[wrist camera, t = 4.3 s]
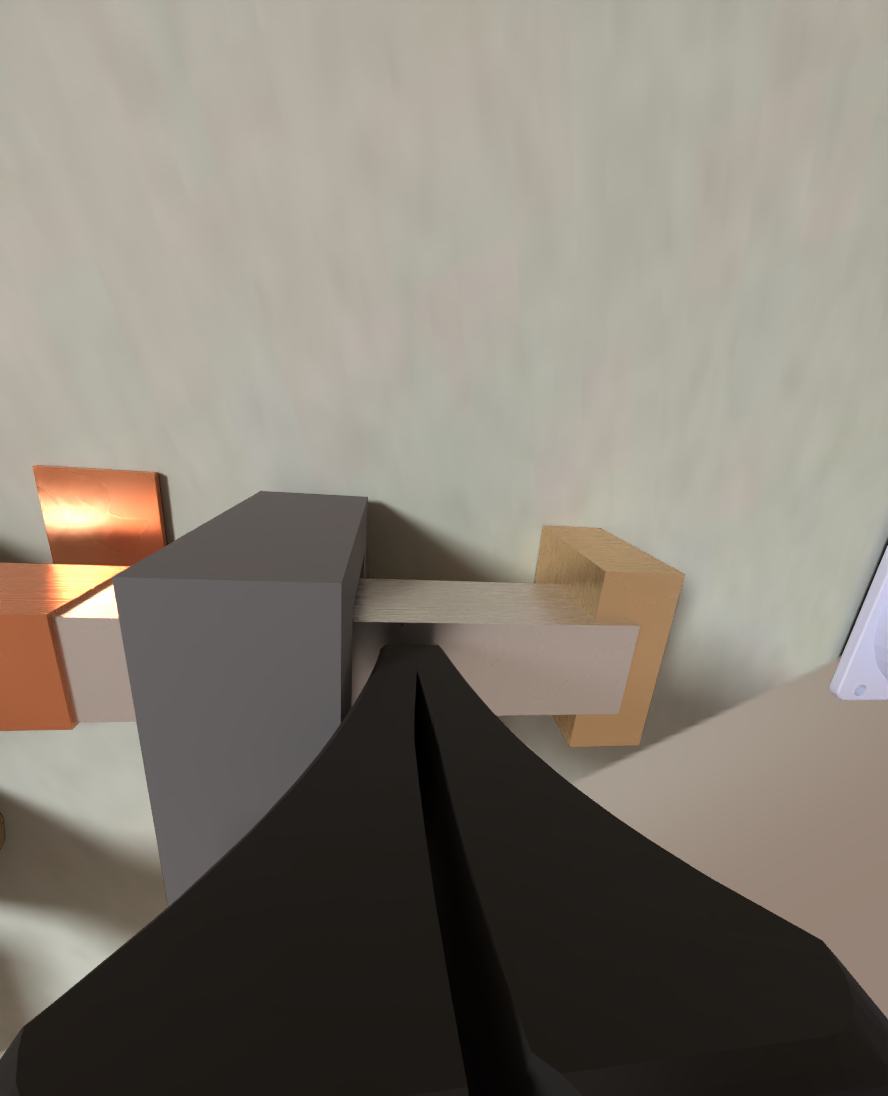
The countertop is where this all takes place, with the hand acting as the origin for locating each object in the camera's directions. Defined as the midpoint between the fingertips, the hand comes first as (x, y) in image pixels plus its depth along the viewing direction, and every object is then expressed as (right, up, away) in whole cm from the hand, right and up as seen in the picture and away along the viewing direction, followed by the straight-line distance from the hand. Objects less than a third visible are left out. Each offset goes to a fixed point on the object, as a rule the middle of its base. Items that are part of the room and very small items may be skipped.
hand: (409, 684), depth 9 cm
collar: (-3, +2, +4) cm, 6 cm away
